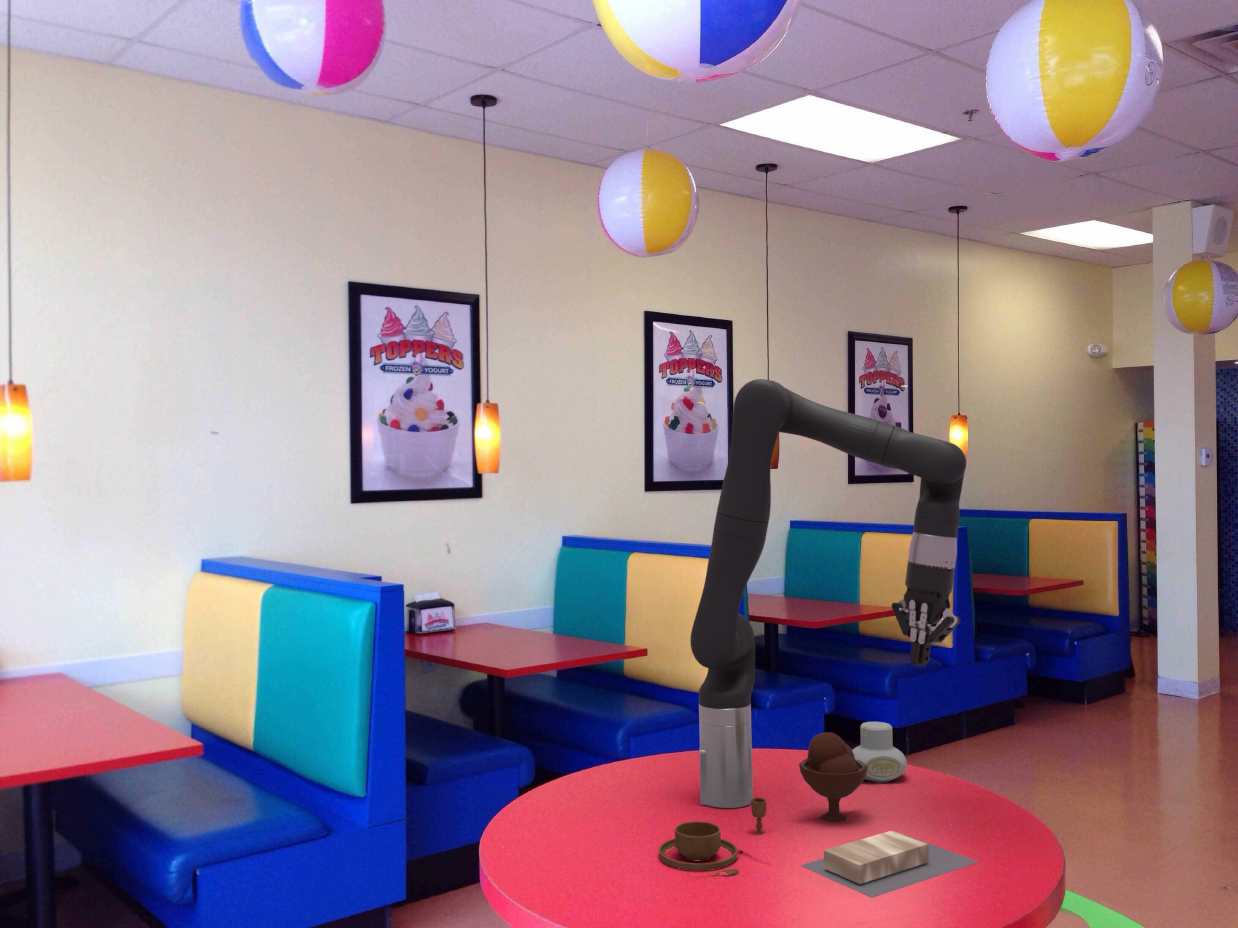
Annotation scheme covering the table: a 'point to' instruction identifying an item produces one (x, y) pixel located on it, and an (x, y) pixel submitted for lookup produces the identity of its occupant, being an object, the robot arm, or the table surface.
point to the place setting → (706, 842)
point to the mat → (937, 865)
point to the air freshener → (879, 752)
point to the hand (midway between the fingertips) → (918, 665)
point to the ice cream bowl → (832, 772)
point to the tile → (876, 857)
